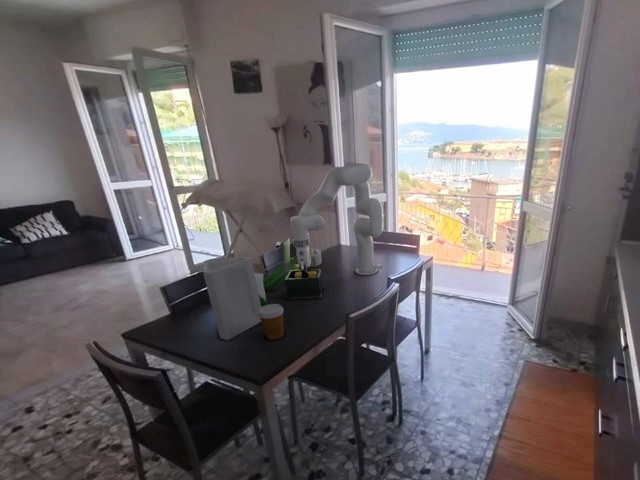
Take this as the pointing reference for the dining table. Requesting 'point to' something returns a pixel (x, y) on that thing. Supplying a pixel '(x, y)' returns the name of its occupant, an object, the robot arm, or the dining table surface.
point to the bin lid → (285, 255)
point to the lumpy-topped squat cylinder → (315, 257)
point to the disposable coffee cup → (272, 320)
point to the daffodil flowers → (280, 274)
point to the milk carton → (261, 289)
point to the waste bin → (304, 286)
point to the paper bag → (232, 294)
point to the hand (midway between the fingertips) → (306, 278)
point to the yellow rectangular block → (310, 273)
